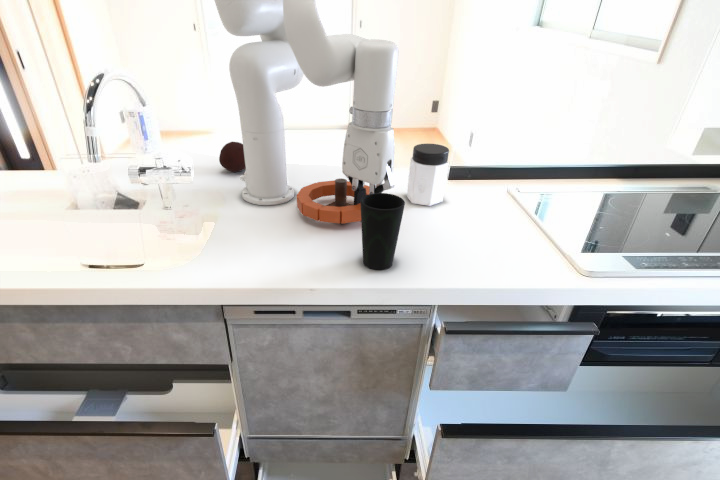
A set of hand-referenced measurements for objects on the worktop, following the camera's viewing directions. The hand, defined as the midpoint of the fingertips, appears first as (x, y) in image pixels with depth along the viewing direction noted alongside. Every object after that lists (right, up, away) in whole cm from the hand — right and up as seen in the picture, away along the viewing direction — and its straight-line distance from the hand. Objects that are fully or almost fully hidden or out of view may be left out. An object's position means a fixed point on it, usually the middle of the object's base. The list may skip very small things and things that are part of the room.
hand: (365, 209), depth 96 cm
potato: (-34, +18, +27) cm, 47 cm away
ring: (-6, +2, +5) cm, 8 cm away
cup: (+2, -13, -12) cm, 18 cm away
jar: (+15, +6, +14) cm, 21 cm away
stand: (-5, 0, +6) cm, 8 cm away
